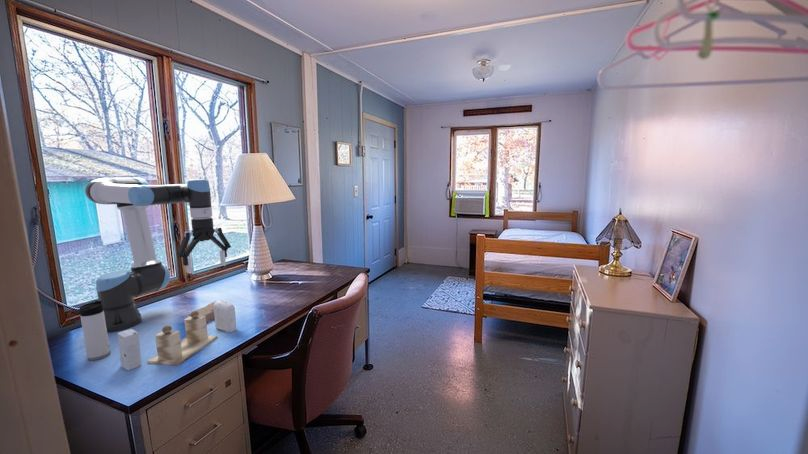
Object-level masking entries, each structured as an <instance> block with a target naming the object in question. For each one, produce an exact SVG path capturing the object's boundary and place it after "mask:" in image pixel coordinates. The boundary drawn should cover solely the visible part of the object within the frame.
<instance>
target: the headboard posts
mask: <svg viewBox="0 0 808 454" xmlns="http://www.w3.org/2000/svg"><path fill="white" fill-rule="evenodd" d="M190 313H191V314H190ZM190 313H189V314H190V317H189V316H187V318H184V319H183V320H184V321H183V322H184V330H185V337H184V338H182V339H181V333H180V330H172V329H173V328H172V326H171V325H169V324H168V325H164V326H163V327H162V329H161V331H160V332H158V333H157V334H155V335H154V336H155V337H154V339H155V344H156V350H157V351H156V352H157V353H156V355H154V356H153V357H150V359H148V360H147V361H146V363H147V364H154V365H155V364H157V365H166V366H179V365H181V364H182V363H184V362H186V361H187V360H188V359H190V358H191V357H192V356H194V355H196V353H199V352H200V351H201V350H202V349H204V348H205V347H207V346H208V345H210V344H211V343H212V342H214V341H215V340H217V339H218V335H208V334H209V333H208V326H207V325H208V324H207V323H206V316H198V315H199V313H198V311H196V310H193V311H191V312H190ZM186 359H187V360H186Z"/></svg>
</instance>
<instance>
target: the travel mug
mask: <svg viewBox="0 0 808 454" xmlns="http://www.w3.org/2000/svg"><path fill="white" fill-rule="evenodd" d="M78 309H79V316H80V323H81V328H82V333H83V340H84V345H85V351H86V357H87V360H88V361H98V360H100V359H101V360H102V359H104V358H107V357H108V356H109V355H110V354H111V348H110V342H109V334H108V332H107V328H106V322H105V315H104V310H103V304H102V302H101V301H99V300H95V301H92V302H88V303H84V304H82V305H81V306H80V307H79V308H78Z"/></svg>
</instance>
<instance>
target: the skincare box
mask: <svg viewBox="0 0 808 454" xmlns="http://www.w3.org/2000/svg"><path fill="white" fill-rule="evenodd" d="M117 339H118V347H119V357H120V365H121V367H122V368H123V369H125V370H126V371H130V370H133V369H136V368H138V367H141V366H142V355H141V345H140V344H141V343H140V336H139V332H138V331H136V330H135V329H133V328H128V329H126V330H123V331H122V330H121V331H120V332H118V333H117Z"/></svg>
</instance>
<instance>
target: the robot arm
mask: <svg viewBox="0 0 808 454" xmlns="http://www.w3.org/2000/svg"><path fill="white" fill-rule="evenodd" d="M84 194H85V197H87V199H88V200H90V201H91V202H93V203H95V204H98V205H116V208H117V209H118V210H119V211H121V212H122V215H123V219H124V224H125V230H126V233H127V237H128V242H129V247H130V251H131V255H132V260H133V263H132V264H131V266H130V270H131V271H130V270H129V269H119V270H113V271H110V272H106V273H105V274H102V275H100V276H99V277H97V279H96V281H95V285H96V286H95V287H96V288H95V290H96V292H97V299H98V300H97V301H101V302H102V304H103V310H104V315H105V322H106V328H107V333H111V332H116V331H122V330H125V329H126V330H127V329H130V328H131V327H134V326H136V325H138V324H140V323H141V322H142V320H143V319H142V314H141V313H140V310H139V309H138V307H137V306H136V304H135V298H136V297H140V296H143V295H146V294H150V293H153V292H158V291H160V290H163V289H165V288H166V287H168V284H169V283H170V281H171V280H170V279H171V272H170V270H169V268H168V266H167V265H165V264H164V263H163V264H162V260H160V259H158V258H157V254H156V250H155V245H154V241H153V236H152V231H151V227H150V222H149V218H148V217H149V216H148V213H147V208H149V206H157V205H170V204H171V205H172V204H182V203H183V204H185V203H186V204H187V203H188V204H189V211H190V212H189V214H190V218H191V220H190V221H191V228H192V229H191V231H189V232H188V231H184V232H183V237H182V240H181V243H180V244H179V248H178V250H177V253H176V257H179V258H182V265H183V266H184V267H185V270H186V273H187V274H190V275H191V274H193V270H192V261H191V257H190V256H189V255H190V254H191V253H192V251H193V250H194V249H195V247H196V246H197V245H198V244H199V243H200V242H205V241H211V242H213V243H214V244H215V245H216V246H217V247H218V248H219V257H220V265H221V266H223V267H225V266H227V263H226V262H227V261H226V258H227V257H228V253H227V252H228V250H229V249H231V247H232V246H231V244H230V242H229V241H228V239H227V238H226V236H225V235H224V233H223V230H222V227H218V226H217V227H215V228H214V219H213V218H212V217H213V210H212V209H213V208H212V199H211V198H212V197H211V196H212V195H211V187H210V182H209V180H208V179H203V178H202V179H200V178H199V179H188V180H187V182H186V183H184V184H183V183H174V184H157V185H156V184H155V185H154V184H150V183H149V182H148V181H147V180H146V179H144V178H142V177H133V176H131V177H129V176H128V177H127V176H126V177H125V176H124V177H101V178H95V179H93V180H91V181H89V183H88V184H87V185H86V186H85V189H84ZM214 234H216V235H217V237H218V238H219V240H218V238H217V237H216V236H215V235H214ZM191 237H193V238H192V239H191V242H190V243H189V241H190V238H191ZM220 240H221V241H220ZM139 322H140V323H139Z"/></svg>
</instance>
